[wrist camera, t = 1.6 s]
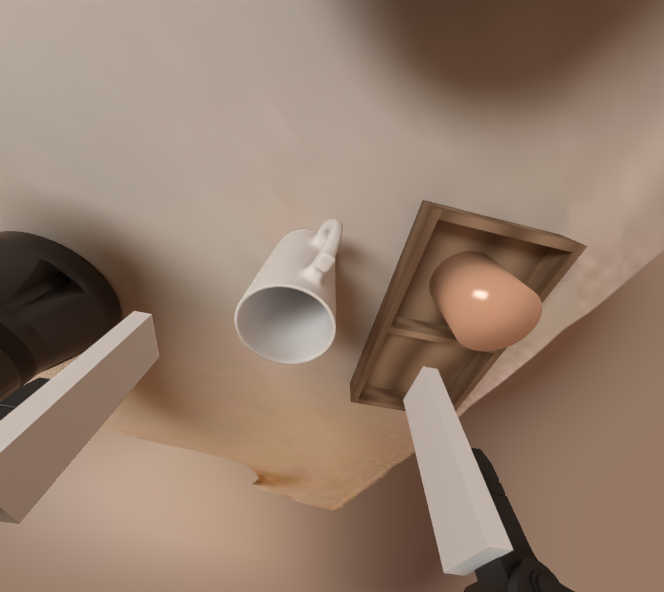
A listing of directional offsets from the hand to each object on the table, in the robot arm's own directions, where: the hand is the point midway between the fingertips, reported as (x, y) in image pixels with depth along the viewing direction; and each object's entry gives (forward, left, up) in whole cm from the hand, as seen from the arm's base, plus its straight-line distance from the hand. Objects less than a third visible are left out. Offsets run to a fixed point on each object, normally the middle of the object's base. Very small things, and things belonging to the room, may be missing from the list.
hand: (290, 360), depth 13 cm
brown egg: (+16, 0, -16) cm, 22 cm away
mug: (0, 0, -16) cm, 16 cm away
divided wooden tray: (+16, -6, -16) cm, 24 cm away
